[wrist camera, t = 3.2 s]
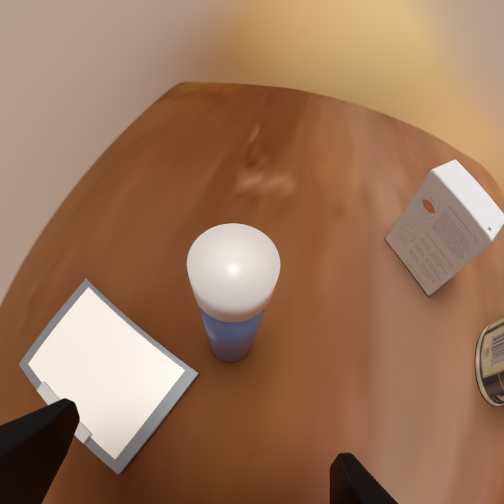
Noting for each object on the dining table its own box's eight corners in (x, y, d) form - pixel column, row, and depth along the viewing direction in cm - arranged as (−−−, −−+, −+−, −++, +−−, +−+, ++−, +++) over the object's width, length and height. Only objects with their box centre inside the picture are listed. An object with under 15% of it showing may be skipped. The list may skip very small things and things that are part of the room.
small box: (451, 273, 27) (509, 219, 18) (426, 298, 25) (494, 242, 16) (410, 221, 30) (455, 157, 21) (382, 238, 28) (431, 167, 19)
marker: (236, 371, 20) (247, 324, 9) (200, 347, 21) (168, 270, 10) (260, 337, 22) (296, 252, 11) (225, 314, 23) (223, 210, 12)
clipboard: (121, 473, 15) (116, 475, 14) (22, 365, 18) (15, 363, 17) (199, 374, 20) (197, 372, 19) (88, 281, 23) (83, 276, 22)
